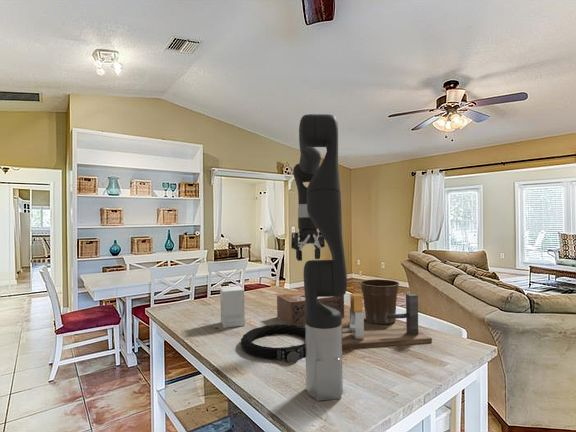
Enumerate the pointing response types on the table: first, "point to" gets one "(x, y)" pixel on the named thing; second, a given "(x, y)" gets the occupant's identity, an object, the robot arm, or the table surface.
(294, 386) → the table surface
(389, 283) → the plant pot
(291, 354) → the cable lock
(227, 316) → the supplement box
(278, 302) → the tissue box cover
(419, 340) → the board
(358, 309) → the end link
